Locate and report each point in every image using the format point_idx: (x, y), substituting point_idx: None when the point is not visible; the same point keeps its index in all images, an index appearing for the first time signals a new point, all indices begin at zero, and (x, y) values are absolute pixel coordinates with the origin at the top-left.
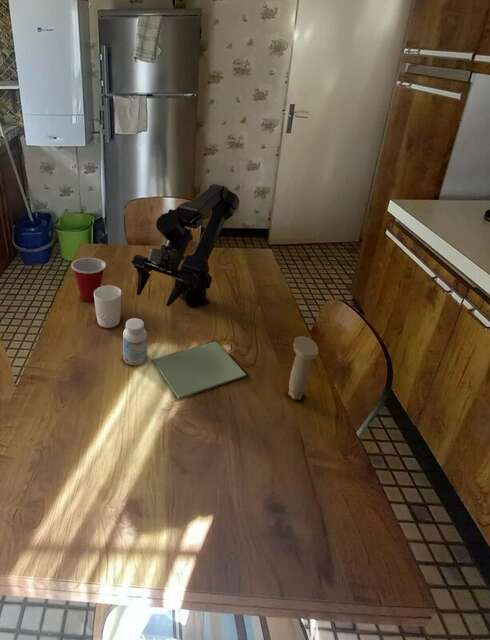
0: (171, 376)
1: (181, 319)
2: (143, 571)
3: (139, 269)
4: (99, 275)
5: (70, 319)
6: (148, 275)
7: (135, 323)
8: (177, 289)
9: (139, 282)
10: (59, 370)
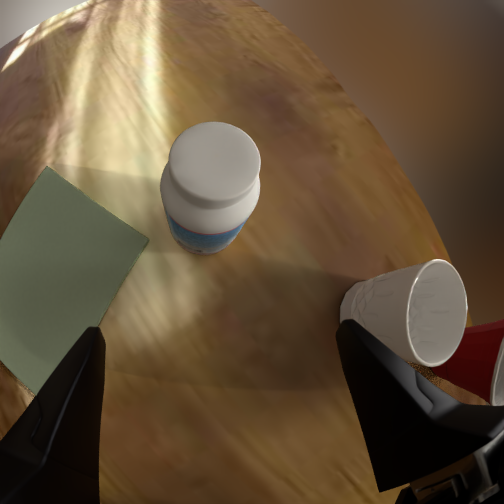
0: (77, 210)
1: (197, 457)
2: (58, 15)
3: (485, 417)
4: (482, 369)
5: (424, 257)
6: (387, 475)
7: (213, 159)
8: (14, 435)
9: (401, 371)
10: (321, 111)
